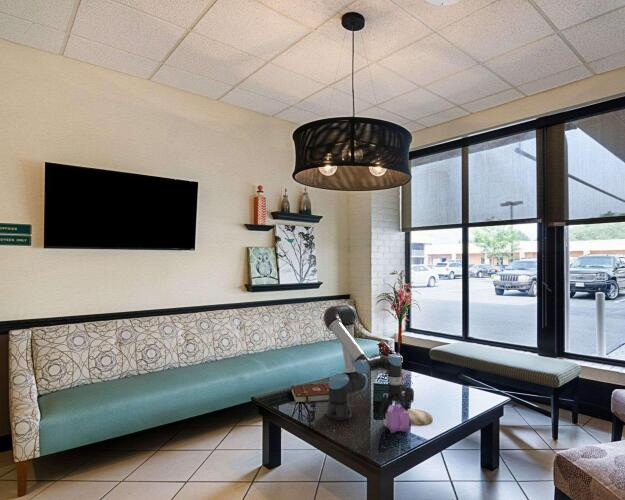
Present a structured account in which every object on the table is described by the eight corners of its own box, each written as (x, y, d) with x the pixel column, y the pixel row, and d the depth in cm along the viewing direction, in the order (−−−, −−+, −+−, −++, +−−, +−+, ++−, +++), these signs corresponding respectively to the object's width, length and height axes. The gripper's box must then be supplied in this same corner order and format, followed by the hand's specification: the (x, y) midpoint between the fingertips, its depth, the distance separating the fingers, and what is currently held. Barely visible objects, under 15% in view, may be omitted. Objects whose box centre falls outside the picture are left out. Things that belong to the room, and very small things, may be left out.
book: (342, 400, 254) (342, 392, 254) (295, 403, 248) (295, 395, 248) (334, 388, 276) (334, 381, 276) (290, 391, 270) (290, 384, 270)
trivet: (409, 427, 213) (409, 425, 213) (391, 413, 232) (391, 411, 232) (439, 422, 219) (439, 420, 219) (419, 409, 238) (419, 407, 238)
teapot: (411, 435, 203) (411, 411, 204) (393, 436, 201) (393, 412, 202) (395, 419, 223) (395, 397, 223) (379, 420, 221) (379, 398, 221)
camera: (412, 396, 260) (412, 381, 260) (414, 401, 250) (414, 386, 250) (392, 395, 261) (392, 380, 262) (394, 400, 252) (394, 385, 252)
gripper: (379, 387, 206) (379, 428, 205) (416, 383, 212) (416, 423, 212) (372, 383, 213) (372, 423, 212) (409, 379, 220) (409, 417, 219)
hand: (394, 423), depth 212 cm, fingers closed on teapot, 10 cm apart
